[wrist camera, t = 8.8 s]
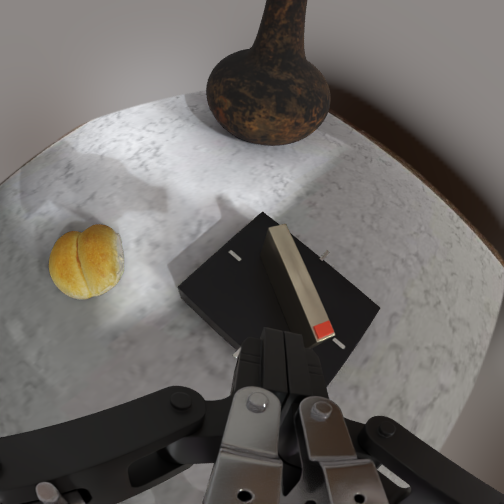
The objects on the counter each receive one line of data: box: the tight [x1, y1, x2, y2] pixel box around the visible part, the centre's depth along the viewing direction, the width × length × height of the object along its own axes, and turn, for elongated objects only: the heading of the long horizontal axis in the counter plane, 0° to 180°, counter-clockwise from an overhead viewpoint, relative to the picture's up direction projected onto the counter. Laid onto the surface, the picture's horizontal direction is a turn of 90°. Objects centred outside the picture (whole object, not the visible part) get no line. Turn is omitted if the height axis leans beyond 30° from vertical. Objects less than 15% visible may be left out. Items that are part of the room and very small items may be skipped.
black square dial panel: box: [178, 212, 380, 387], centre depth 28 cm, size 16×14×3 cm
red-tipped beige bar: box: [260, 224, 335, 348], centre depth 24 cm, size 10×2×5 cm, turn 19°
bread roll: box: [49, 224, 124, 299], centre depth 27 cm, size 8×9×4 cm
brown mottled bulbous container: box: [206, 0, 330, 146], centre depth 31 cm, size 18×18×28 cm
